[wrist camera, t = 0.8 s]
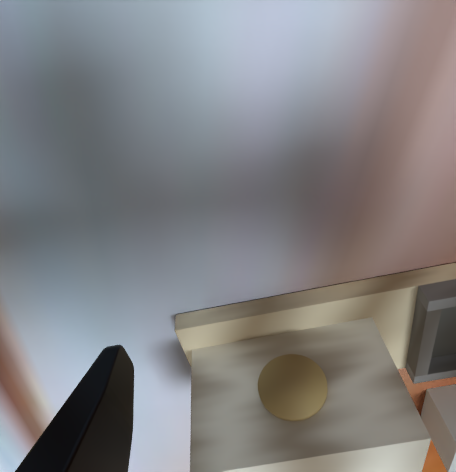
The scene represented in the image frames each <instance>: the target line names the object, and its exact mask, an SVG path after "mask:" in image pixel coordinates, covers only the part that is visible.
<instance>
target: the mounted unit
mask: <svg viewBox="0 0 456 472" xmlns="http://www.w3.org/2000/svg"><path fill="white" fill-rule="evenodd" d="M175 332H176V334H177V337H178V339H179V341H180V344H181V346H182V348H183V350H184V353H185V355H186V357H187V359H188V362H189V364H190V366H191V368H192V370H191V446H190V472H422V469H423V465H424V462H425V458H426V454H427V451H428V447H429V444H430V440H431V437H430V435H429V433H428V431H427V429H426V427H425V425H424V423H423V421H422V419H421V417H420V415H419V413H418V411H417V409H416V406H415V404H414V402H413V400H412V398H411V396H410V394H409V392H408V390H407V388H406V386H405V384H404V382H403V380H402V378H401V376H400V374H399V372H398V370H397V369H400V368H406V370H407V372H408V374H409V376H410V378H411V379H412V381H413V383H420V382H426V381H432V380H438V379H444V378H450V377H456V263H451V264H445V265H440V266H435V267H429V268H424V269H419V270H413V271H408V272H403V273H397V274H392V275H386V276H381V277H376V278H370V279H365V280H360V281H354V282H349V283H343V284H338V285H333V286H327V287H322V288H317V289H311V290H306V291H301V292H295V293H290V294H284V295H279V296H274V297H268V298H263V299H258V300H252V301H247V302H241V303H236V304H231V305H225V306H220V307H215V308H209V309H204V310H198V311H193V312H188V313H182V314H177V315H176V318H175Z"/></svg>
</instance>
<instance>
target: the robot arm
mask: <svg viewBox="0 0 456 472" xmlns="http://www.w3.org/2000/svg"><path fill="white" fill-rule="evenodd" d="M133 399H134V367H133V363H132V361H131V359H130V358H129V356H128V354H127V353H126V351H125V349H124V348H123V346H121V345H114V346H109V347H106V348H105V349H103V351H102V352H101V353H100V355H99V356H98V358H97V359H96V360H95V362H94V363H93V364H92V366H91V367H90V369H89V370H88V371H87V373H86V374H85V376H84V377H83V378H82V380H81V381H80V382H79V384H78V385H77V387H76V388H75V389H74V391H73V392H72V394H71V395H70V396H69V398H68V399H67V400H66V402H65V403H64V405H63V406H62V407H61V409H60V410H59V411H58V413H57V414H56V416H55V417H54V418H53V420H52V421H51V423H50V424H49V425H48V427H47V428H46V429H45V431H44V432H43V434H42V435H41V436H40V438H39V439H38V441H37V442H36V443H35V445H34V446H33V447H32V449H31V450H30V452H29V453H28V454H27V456H26V457H25V458H24V460H23V461H22V463H21V464H20V465H19V467H18V468H17V470H16V471H15V472H128V465H129V458H130V450H131V442H132V432H133Z"/></svg>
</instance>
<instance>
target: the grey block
mask: <svg viewBox="0 0 456 472" xmlns="http://www.w3.org/2000/svg"><path fill="white" fill-rule="evenodd" d="M420 417H421V419H422V421H423V423H424V425H425V427H426V429H427V431H428V433H429V435H430V437H431V439H432V441H433V443H434V445H435V447H436V450H437V452H438V454H439V456H440V458H441V460H442V462H443V464H444V466H445V468H446V470H447V472H456V384H454V385H448V386H442V387H436V388H430V389H427V390H426V395H425V399H424V403H423V408H422V412H421V416H420Z"/></svg>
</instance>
